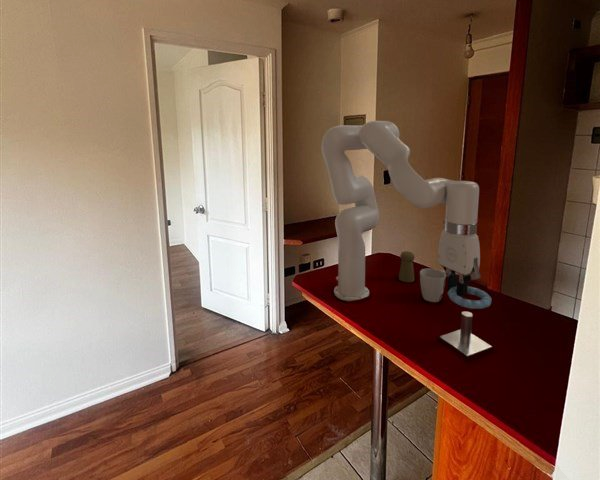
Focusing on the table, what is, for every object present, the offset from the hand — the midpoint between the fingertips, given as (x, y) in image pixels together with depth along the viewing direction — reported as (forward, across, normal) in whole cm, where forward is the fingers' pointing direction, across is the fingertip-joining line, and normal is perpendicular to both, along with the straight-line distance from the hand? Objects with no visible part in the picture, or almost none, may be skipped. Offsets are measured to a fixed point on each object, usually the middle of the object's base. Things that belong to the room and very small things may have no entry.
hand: (456, 292), depth 89 cm
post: (+14, +4, 0) cm, 14 cm away
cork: (+14, -36, +14) cm, 40 cm away
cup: (+14, -18, +10) cm, 25 cm away
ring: (-1, +4, 0) cm, 4 cm away
